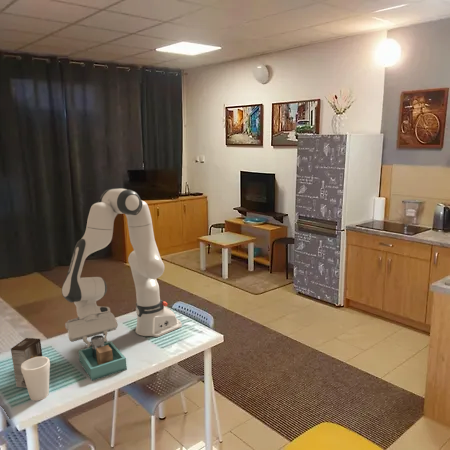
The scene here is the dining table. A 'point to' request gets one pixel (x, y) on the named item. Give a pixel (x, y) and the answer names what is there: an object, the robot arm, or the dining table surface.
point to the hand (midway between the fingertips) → (97, 344)
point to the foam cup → (36, 377)
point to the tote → (103, 369)
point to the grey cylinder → (96, 344)
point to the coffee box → (24, 357)
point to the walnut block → (104, 355)
